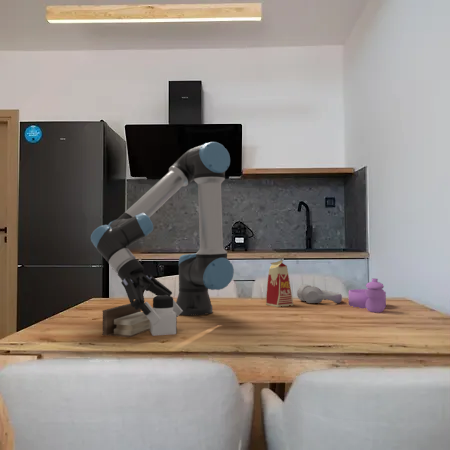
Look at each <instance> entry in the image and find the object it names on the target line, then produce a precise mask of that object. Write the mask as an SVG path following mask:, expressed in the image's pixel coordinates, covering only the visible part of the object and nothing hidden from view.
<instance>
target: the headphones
mask: <svg viewBox="0 0 450 450" xmlns="http://www.w3.org/2000/svg"><path fill="white" fill-rule="evenodd" d="M296 295H297V298H298V299H299V300H300V301H302V302H305V301H306V302H305V303H308V304H310V303H318V304H320V303H321V302H322V301H323V300H326V299H328V300H327V301H332V302H333V303H335V304H341V302H342V301H343V295H342V294H341V293H338V292H333V291H328V290H323V289H321V288H319V287H318V286H312V285H309V284H302V285H300V286H299V287H298V288H297V291H296Z"/></svg>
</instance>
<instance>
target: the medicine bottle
mask: <svg viewBox="0 0 450 450" xmlns="http://www.w3.org/2000/svg"><path fill="white" fill-rule="evenodd" d="M173 300H174V297H173V296H171V295H170V296H167V295H161V296H157V295H156V296H154V297H153V298H152V308H153V309H154V311H155V312H156V313H157V314H158V316H159V317H160V318H161V319H160V320H159V321H158V322H157V324H156V325H153V324H152V323H151V321H150V330H149V332H150V334H151V336H155V337H156V336H165V335H166V336H167V335H176V334H177V332H178V331H177V326H178V325H177V323H178V319H177V314H176V313H175V312H174V311H173Z"/></svg>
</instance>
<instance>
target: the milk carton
mask: <svg viewBox="0 0 450 450" xmlns="http://www.w3.org/2000/svg"><path fill="white" fill-rule="evenodd" d="M270 264H271V265H270V267H269V269H268V276H267V284H266V285H267V286H266V297H265V299H266V300H265V305H267V306H271V307H276V308H279V307H281V306H282V307H289V305H291V306H294V299H293V293H292V288H291V282H290V276H289V271H288V266H287V265H286V264H285V263H283V259H281V260H278V261H276V262H270Z"/></svg>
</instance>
